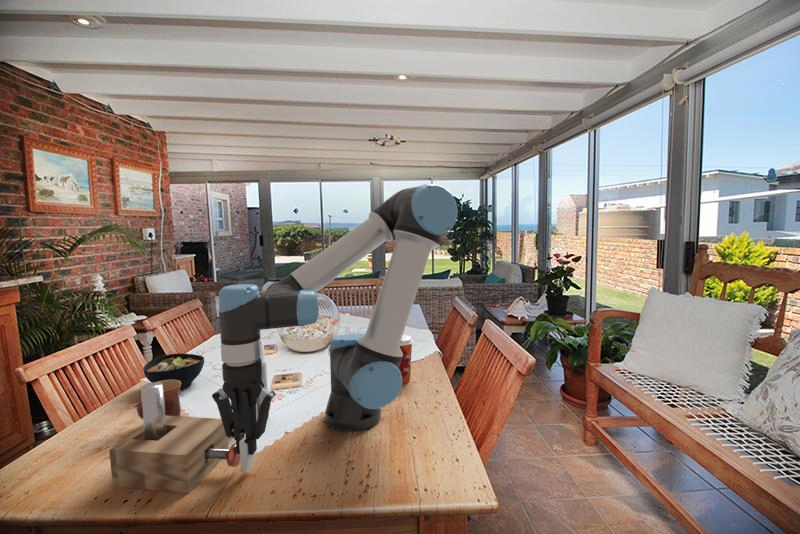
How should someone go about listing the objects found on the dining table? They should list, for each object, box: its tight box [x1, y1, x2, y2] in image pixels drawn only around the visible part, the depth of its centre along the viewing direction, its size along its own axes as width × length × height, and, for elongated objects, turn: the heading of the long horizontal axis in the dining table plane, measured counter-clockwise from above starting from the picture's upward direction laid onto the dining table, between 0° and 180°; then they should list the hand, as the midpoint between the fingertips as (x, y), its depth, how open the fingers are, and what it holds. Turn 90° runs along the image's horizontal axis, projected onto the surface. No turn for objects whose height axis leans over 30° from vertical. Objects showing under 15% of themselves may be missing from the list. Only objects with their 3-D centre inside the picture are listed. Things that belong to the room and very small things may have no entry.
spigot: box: [140, 382, 167, 441], centre depth 83 cm, size 4×4×14 cm
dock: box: [108, 415, 230, 494], centre depth 83 cm, size 17×14×8 cm
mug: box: [136, 380, 182, 420], centre depth 101 cm, size 12×9×10 cm
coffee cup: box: [399, 334, 414, 385], centre depth 128 cm, size 8×8×15 cm
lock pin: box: [205, 443, 240, 468], centre depth 82 cm, size 14×4×4 cm, turn 83°
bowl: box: [143, 353, 205, 392], centre depth 125 cm, size 17×17×10 cm
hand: (247, 467), depth 81 cm, fingers closed
